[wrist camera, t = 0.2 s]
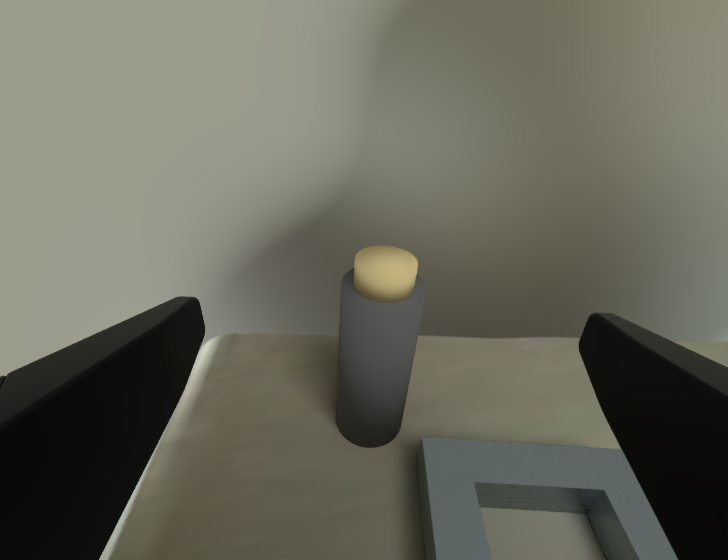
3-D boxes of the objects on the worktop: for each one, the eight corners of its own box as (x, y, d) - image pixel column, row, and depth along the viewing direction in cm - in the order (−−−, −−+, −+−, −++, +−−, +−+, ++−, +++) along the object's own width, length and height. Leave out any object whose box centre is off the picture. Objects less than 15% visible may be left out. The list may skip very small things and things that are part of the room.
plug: (403, 449, 24) (436, 288, 17) (333, 445, 24) (338, 281, 17) (399, 393, 28) (425, 243, 21) (338, 389, 28) (345, 237, 21)
